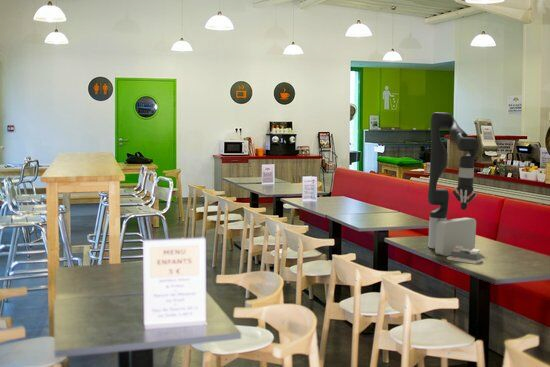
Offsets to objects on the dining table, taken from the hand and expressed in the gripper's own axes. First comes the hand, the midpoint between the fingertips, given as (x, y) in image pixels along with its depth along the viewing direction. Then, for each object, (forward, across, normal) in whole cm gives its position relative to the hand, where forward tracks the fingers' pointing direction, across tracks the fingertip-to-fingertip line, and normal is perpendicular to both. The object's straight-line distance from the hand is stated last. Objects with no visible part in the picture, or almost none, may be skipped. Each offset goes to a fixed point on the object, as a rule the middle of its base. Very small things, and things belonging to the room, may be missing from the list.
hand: (463, 209), depth 347 cm
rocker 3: (+20, -8, +2) cm, 22 cm away
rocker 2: (+20, -4, +2) cm, 21 cm away
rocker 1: (+20, +1, +2) cm, 21 cm away
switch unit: (+26, -4, +4) cm, 26 cm away
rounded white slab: (+26, +8, -12) cm, 30 cm away
